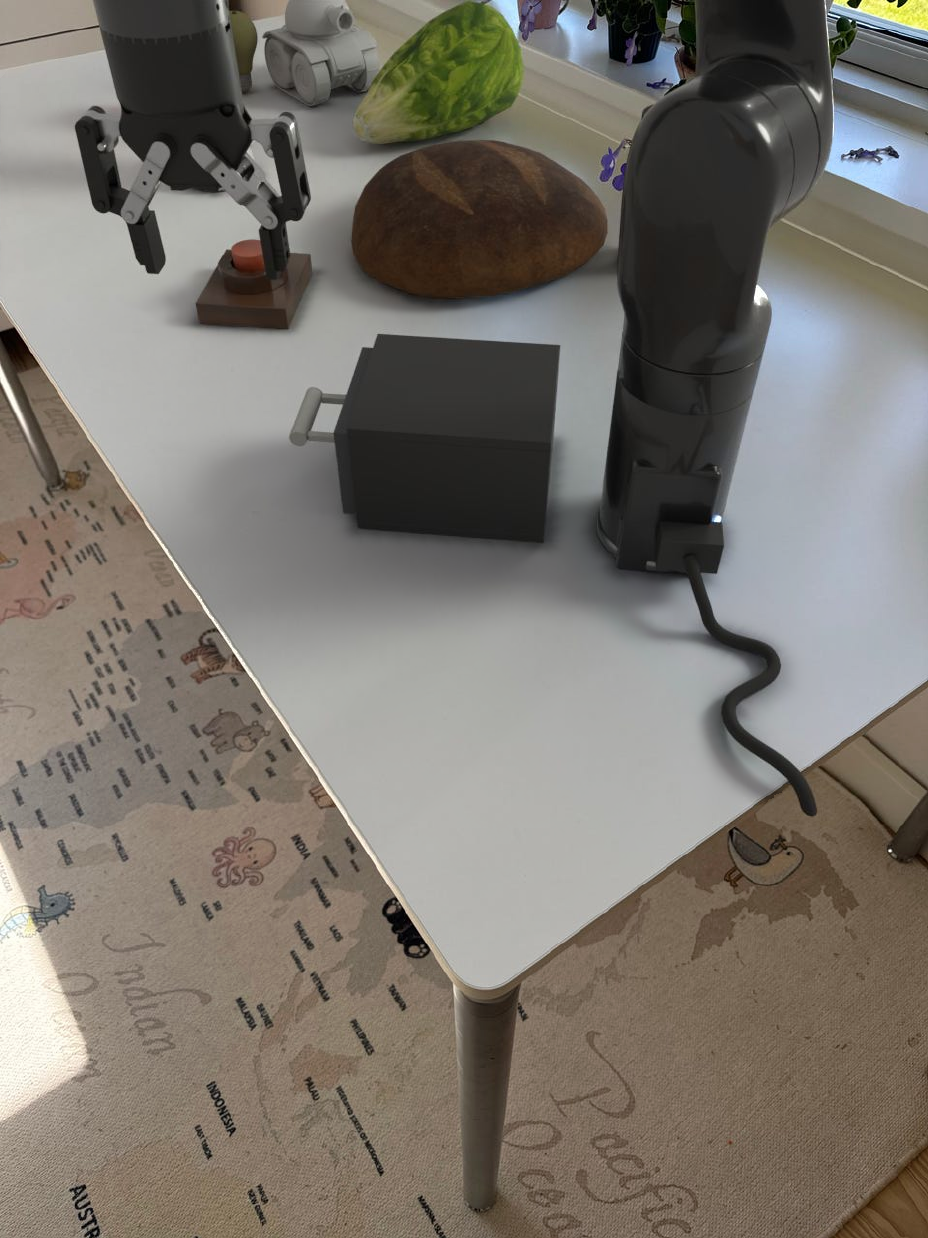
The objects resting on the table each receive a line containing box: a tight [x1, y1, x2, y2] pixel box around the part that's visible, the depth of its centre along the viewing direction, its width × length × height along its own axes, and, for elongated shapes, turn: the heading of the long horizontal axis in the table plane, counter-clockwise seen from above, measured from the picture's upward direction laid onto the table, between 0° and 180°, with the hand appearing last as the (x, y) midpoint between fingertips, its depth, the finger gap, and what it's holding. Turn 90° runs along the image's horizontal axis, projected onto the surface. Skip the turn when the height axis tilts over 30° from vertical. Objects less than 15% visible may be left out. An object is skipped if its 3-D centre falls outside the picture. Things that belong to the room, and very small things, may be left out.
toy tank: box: [261, 0, 381, 107], centre depth 136 cm, size 15×11×13 cm
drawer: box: [288, 346, 373, 515], centre depth 79 cm, size 18×11×8 cm, turn 83°
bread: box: [350, 139, 609, 299], centre depth 107 cm, size 28×27×9 cm
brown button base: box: [195, 249, 314, 330], centre depth 101 cm, size 11×9×4 cm
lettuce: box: [352, 0, 525, 145], centre depth 126 cm, size 14×23×13 cm, turn 126°
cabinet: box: [347, 333, 561, 544], centre depth 79 cm, size 15×13×10 cm
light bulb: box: [229, 10, 259, 94], centre depth 136 cm, size 6×6×10 cm
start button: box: [230, 238, 265, 272], centre depth 99 cm, size 4×4×2 cm
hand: (216, 271), depth 70 cm, fingers open, 8 cm apart
